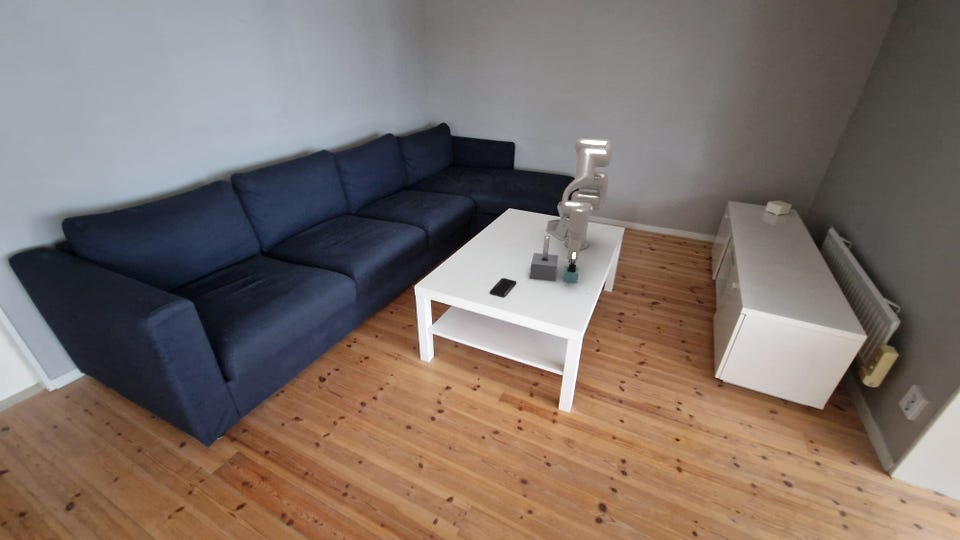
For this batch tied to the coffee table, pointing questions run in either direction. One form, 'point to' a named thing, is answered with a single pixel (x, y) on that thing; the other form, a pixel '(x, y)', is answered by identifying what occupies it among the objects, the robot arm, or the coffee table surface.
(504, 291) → the phone
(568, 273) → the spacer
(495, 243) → the coffee table surface
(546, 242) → the shaft
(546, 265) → the bearing block
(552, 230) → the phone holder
